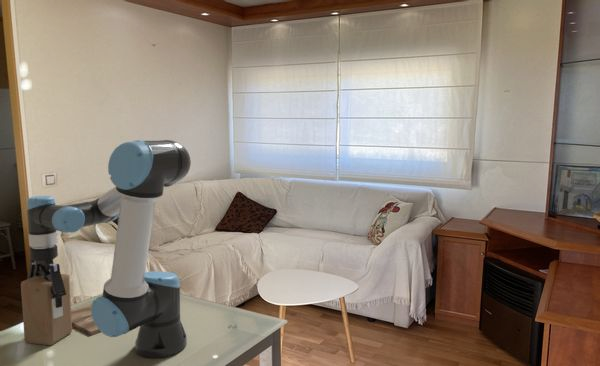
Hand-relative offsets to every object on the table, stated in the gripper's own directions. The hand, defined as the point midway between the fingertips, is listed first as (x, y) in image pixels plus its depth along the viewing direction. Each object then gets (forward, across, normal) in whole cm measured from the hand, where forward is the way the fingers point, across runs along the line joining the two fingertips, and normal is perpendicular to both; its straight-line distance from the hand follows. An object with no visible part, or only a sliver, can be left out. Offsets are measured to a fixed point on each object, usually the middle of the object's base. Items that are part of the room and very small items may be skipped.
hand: (47, 311), depth 145 cm
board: (+9, +2, -16) cm, 18 cm away
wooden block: (+9, 0, 0) cm, 9 cm away
